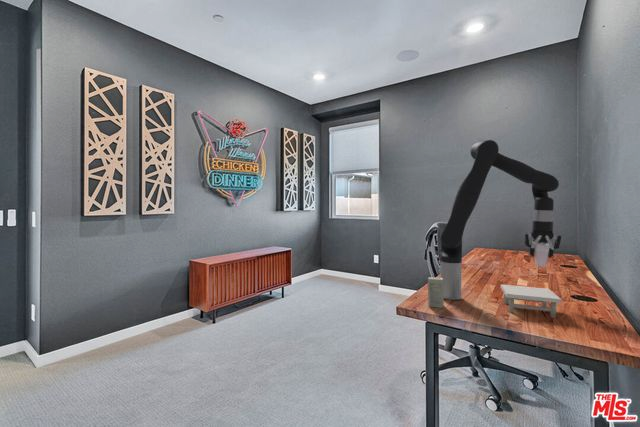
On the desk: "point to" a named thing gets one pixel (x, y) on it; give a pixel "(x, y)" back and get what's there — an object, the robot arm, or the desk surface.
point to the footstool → (530, 298)
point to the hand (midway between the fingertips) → (540, 256)
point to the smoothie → (541, 254)
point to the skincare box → (435, 292)
